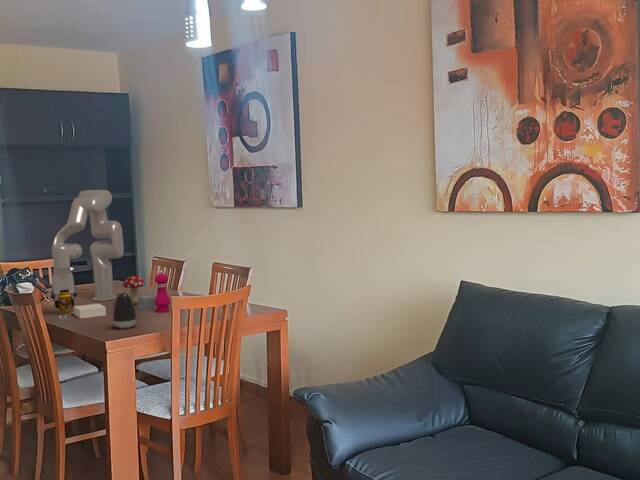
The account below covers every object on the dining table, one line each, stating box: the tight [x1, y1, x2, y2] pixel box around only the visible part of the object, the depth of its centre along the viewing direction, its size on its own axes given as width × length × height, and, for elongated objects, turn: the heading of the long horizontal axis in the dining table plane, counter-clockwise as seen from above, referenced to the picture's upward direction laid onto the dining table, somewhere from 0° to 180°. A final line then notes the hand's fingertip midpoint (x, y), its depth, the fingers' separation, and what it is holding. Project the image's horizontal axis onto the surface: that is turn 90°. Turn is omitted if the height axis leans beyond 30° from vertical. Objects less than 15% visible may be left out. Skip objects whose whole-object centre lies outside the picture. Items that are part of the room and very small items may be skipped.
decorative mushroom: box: [122, 275, 145, 306], centre depth 370 cm, size 11×11×15 cm
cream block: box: [73, 303, 107, 319], centre depth 346 cm, size 12×12×4 cm
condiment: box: [52, 290, 74, 316], centre depth 351 cm, size 7×8×12 cm
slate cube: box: [137, 295, 157, 311], centre depth 357 cm, size 6×6×6 cm
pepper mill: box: [154, 270, 171, 313], centre depth 348 cm, size 7×7×20 cm
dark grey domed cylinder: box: [111, 292, 138, 329], centre depth 314 cm, size 10×10×15 cm
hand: (64, 307), depth 351 cm, fingers closed on condiment, 6 cm apart
